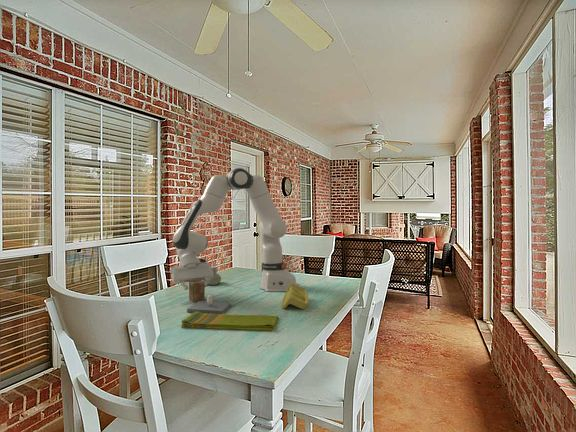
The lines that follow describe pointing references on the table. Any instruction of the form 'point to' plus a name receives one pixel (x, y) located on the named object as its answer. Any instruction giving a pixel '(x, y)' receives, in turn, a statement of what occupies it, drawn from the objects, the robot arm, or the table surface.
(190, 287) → the housing
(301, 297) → the plastic component
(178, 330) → the table surface
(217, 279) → the grey green jug
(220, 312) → the mounting plate
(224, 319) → the dish towel
